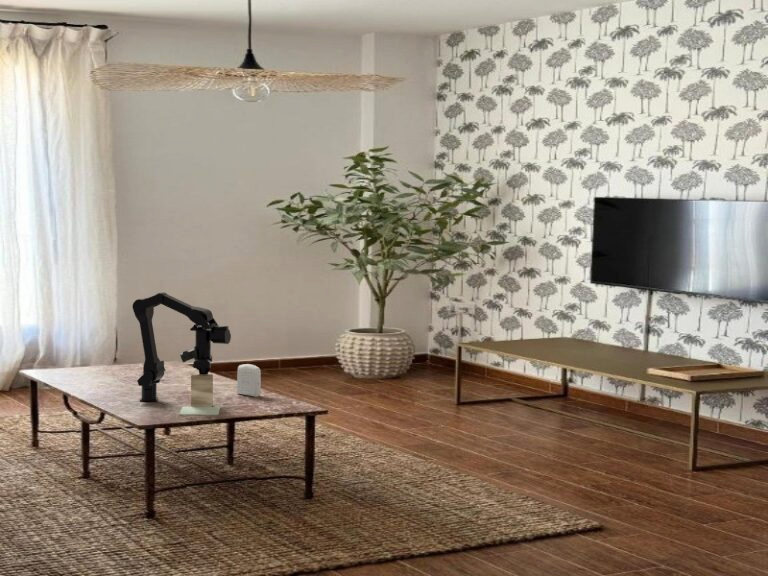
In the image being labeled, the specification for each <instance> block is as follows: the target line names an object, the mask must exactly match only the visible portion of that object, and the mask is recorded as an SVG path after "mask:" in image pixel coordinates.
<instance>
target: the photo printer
mask: <svg viewBox="0 0 768 576" xmlns="http://www.w3.org/2000/svg"><path fill="white" fill-rule="evenodd" d="M261 375H262V372H261V368H260V367H258V366H256V365H255V364H250V363H246V364H244V363H243V364H239V365H238V366H237V378H236V379H237V381H236V382H237V383H236V384H237V385H236V393H237V394H239V395H245V396H251V397H254V398H257V397H259V396H261V385H262V384H261V379H262V376H261Z"/></svg>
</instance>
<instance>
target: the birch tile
mask: <svg viewBox="0 0 768 576" xmlns="http://www.w3.org/2000/svg"><path fill="white" fill-rule="evenodd" d="M212 406H213V407H214V374H213V373H211V374H209V373H208V374H199V373H198V374H197V373H196V374H195V373H191V375H190V407H212Z"/></svg>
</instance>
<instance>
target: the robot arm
mask: <svg viewBox="0 0 768 576" xmlns="http://www.w3.org/2000/svg"><path fill="white" fill-rule="evenodd" d="M159 305H163V306H164V307H167V308H169V309H170V310H173V311H175V312H177V313H179V314H182V315H184V316H185V317H187V318H188V320H189V321H191V322H192V323H194V325H192V327H191V328H189V331H192V332H195V341H194V342H195V345H194V346H193V347H194V348H191V349H190V350H187V349H186V350H185V351H184V350H183V351H182V352H181V353H180V354H179V356H180V359H181V361H182V363H186V362H189V361H190V360H194V361H193V366H192V368H193V369H196V370H198V374H209V372H210V369H211V368H212V367H211V366H212V362H213V355H212V354H211V351H212V349H211V348H212V344H219V345H229V343H230V342H231V340H232V339H231V338H232V335H231V331H230V329H229V326H228V325H224V326H223V325H222V326H221V325H219V324H218V323H217V321H216V319H215V318H214V316H213V313H212V311H211V310H210V309H207V308H203V307H199V306H193V305H191V304H189V303H186V302H185V301H182V300H180V299H178V298H177V297H174V296H171V295H169V294H168V293H166V292H158V293H156V294H155V295H152V296H149V297H144V298H138V299H135V301H134V302H133V303H132V305H131V306H132V310H133V314H134V316H135V318H136V320H137V321H138V322H139V327H140V334H141V340H142V348H143V352H144V353H143V355H144V363H143V367H142V368H143V369H142V375H141V376H140V377H139V378H138V379H137V384H138V385H137V386H139V387H141V396H140V399H139V402H158V399H159V397H158V395H157V393H158V392H157V387H158V386H157V385H158V384H160V382H161V380H162V378H164V375H165V372H166V370H167V369H166V367H165V362H164V360H160V358H159V356H158V351H157V344H156V340H155V339H156V338H155V334H154V333H155V332H154V327H153V317H154V312H155V309H154V308H157V307H158V306H159ZM211 343H212V344H211Z"/></svg>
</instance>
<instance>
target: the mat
mask: <svg viewBox="0 0 768 576" xmlns="http://www.w3.org/2000/svg"><path fill="white" fill-rule="evenodd" d="M220 411H221V406H213V407H191V406H182V407H181V409H180V412H179V416H219V413H220Z"/></svg>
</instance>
